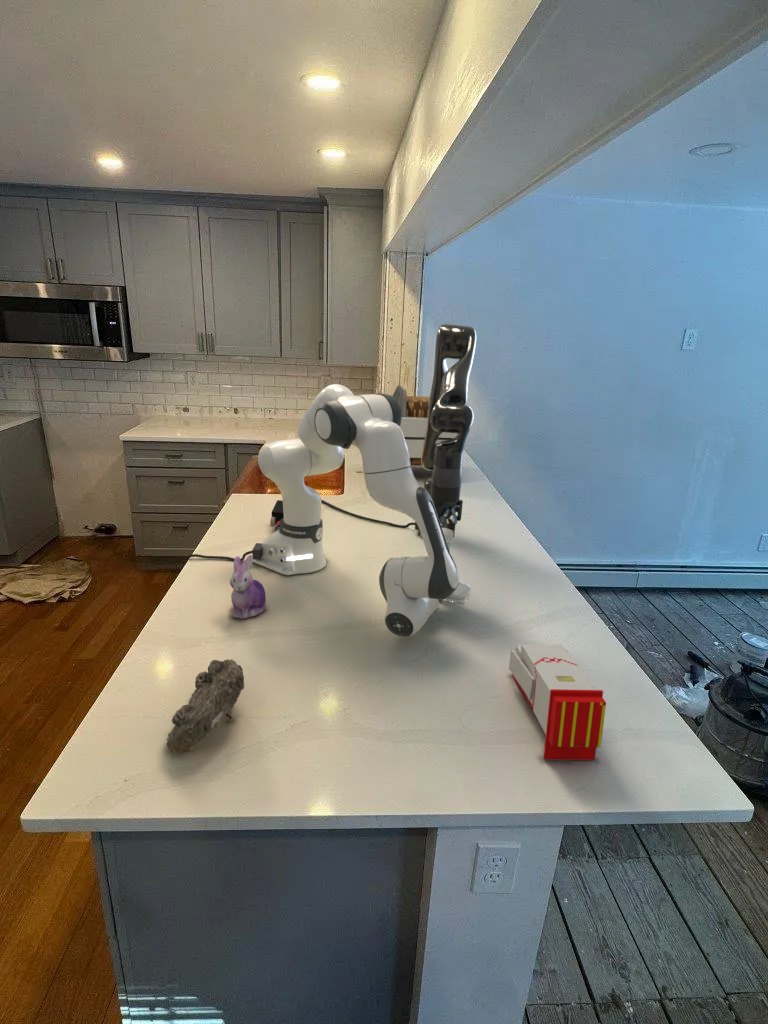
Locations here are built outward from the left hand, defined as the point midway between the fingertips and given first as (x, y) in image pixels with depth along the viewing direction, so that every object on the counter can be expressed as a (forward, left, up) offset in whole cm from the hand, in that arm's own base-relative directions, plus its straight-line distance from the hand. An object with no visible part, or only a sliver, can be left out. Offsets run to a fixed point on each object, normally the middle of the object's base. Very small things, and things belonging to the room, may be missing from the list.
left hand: (440, 575), depth 156 cm
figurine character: (-67, +22, -6) cm, 71 cm away
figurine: (-41, -32, -6) cm, 52 cm away
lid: (0, -1, +13) cm, 13 cm away
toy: (+35, -35, -6) cm, 50 cm away
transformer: (-50, +114, -6) cm, 125 cm away
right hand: (0, -1, +11) cm, 11 cm away
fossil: (-22, -68, -6) cm, 71 cm away
